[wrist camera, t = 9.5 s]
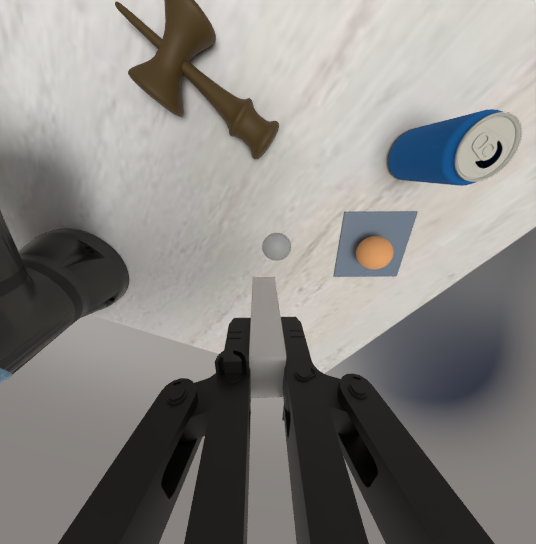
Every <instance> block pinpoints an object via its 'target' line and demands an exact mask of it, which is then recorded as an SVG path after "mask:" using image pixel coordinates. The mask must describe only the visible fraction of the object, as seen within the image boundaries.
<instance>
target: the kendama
mask: <svg viewBox="0 0 536 544" xmlns="http://www.w3.org/2000/svg"><path fill="white" fill-rule="evenodd" d="M164 1H165V19H166V23H165V31H164V36H163V39H161V38H160V37H159V36H158V35H157V34H156V33H154V32H153V31H152V30H151V29H150V28H149V27H148V26H146V25H145V24H144V23H143V22H142V21H141V20H140V19H138V18H137V17H136V16H135V15H134V14H133V13H132V12H130V11H129V10H128V9H127V8H126V7H124V6H123V5H122V4H121V3H119V2H115V6H116V7H117V9H118V10H119V11H120V12H121V13H122V14H123V15H124V16H125V17H126V18H127V19H128V20H129V21H130V22H131V23H132V24H133V25H134V26H135V27H136V28H137V29H138V30H139V31H140V32H141V33H142V34H143V35H144V36H145V37H146V38H147V39H148V40H149V41H150V42H151V43H152V44H153V45H154V46H156V47H157V48H158V51H157V52H156V55H155V56H154V57H153V58H152V59H151V60H149V61H147V62H145V63H143V64H140V65H137V66H135V67H133V68H131V69H129V71H128V74H129V76H130V77H131V78H132V80H133V81H134V82H135V83H136V84H137V85H138V86H139V87H141V88H142V89H143V90H144V91H145V92H146V93H147V94H148V95H150V96H151V97H152V98H153V99H155V100H156V101H157V102H158V103H160V104H161V105H162V106H164V107H165V108H166V109H168V110H169V111H171V112H172V113H174V114H176V115H177V116H181V117H182V115H183V105H182V96H181V81H182V78H183V75H185V76H186V77H187V78H188V79H189V80H190V81H191V82H192V83H193V84H194V85H195V87H196V88H197V89H198V90H199V91H200V92H201V93H202V94H203V95H204V96H205V97H206V98H207V100H208V101H209V102H210V103H211V104H212V105H213V106H214V108H215V109H216V110H217V111H218V112H219V114H220V115H221V116H222V117H223V119H224V120H225V121H226V123H227V125H228V127H229V133H230V135H231V136H238V137H239V138H241V139H242V140H243V141H244V142H245V143H246V144H247V145H248V146H249V148H250V149H251V152H252V157H253V158H254V159H259V158H260V157H261V156H262V155H263V154H264V153H265V151H266V150H267V149H268V147H269V146H270V144H271V143H272V141H273V139H274V138H275V136H276V134H277V132H278V128H279V123H278V122H277V121H271V122H269V121H266V120H264V119H263V118H262V117H261V116H260V115H259V114H258V113H257V112H256V111H255V109H254V107H253V103H252V100H251V99H250V98H248V99H244V100H243V99H239V98H237V97H235V96H234V95H232V94H231V93H229V92H227V91H226V90H225V89H223V88H222V87H220V86H219V85H218V84H216V83H215V82H214V81H212V80H211V79H210V78H208V77H207V76H206V75H204V74H203V73H202V72H201V71H199V70H198V69H197V68H195V67H194V66H193V65H192V64H191V63H189V62H190V61H191V59H192V58H193V57H194V56H195V55H196V54H198V53H199V52H201V51H203V50H204V49H206V48H208V47H210V46H212V45H213V44H214V43H215V41H216V35H215V32H214V29H213V27H212V25H211V23H210V21H209V20H208V18H207V16H206V15H205V13H204V12H203V11H202V9H201V8H200V7H199V5H198V4H197V3H196V2H195V1H194V0H164Z"/></svg>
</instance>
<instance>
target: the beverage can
mask: <svg viewBox="0 0 536 544" xmlns="http://www.w3.org/2000/svg"><path fill="white" fill-rule="evenodd" d="M521 137H522V126H521V123H520V120H519V119H518V118H517V117H516V116H515V115H514V114H512V113H508V112H502V111H499V110H484V111H480V112H476V113H473V114H469V115H465V116H461V117H457V118H453V119H449V120H446V121H442V122H438V123H434V124H430V125H426V126H422V127H418V128H415V129H411V130H409V131H407V132H405V133H404V134H403V135H401V136H400V137H399V138H398V139H397V141H396V142H395V143H394V145H393V147H392V149H391V151H390V154H389V159H388V165H389V169H390V172H391V174H392V175H393V176H394V177H396V178H397V179H400V180H407V181H418V182H429V183H440V184H450V185H468V184H472V183H475V182H478V181H483V180H486V179H488V178H490V177H492V176H494V175H495V174H497V173H498V172H500V171H501V170H502V169H503V168H504V167H505V166H506V165H507V164H508V163H509V162H510V161H511V159H512V158H513V156H514V155H515V153H516V151H517V149H518V147H519V145H520V142H521Z"/></svg>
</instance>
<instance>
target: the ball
mask: <svg viewBox="0 0 536 544" xmlns="http://www.w3.org/2000/svg"><path fill="white" fill-rule="evenodd" d="M393 253H394V251H393V247H392V245H391V243H390V242H389V241H388V240H387V239H385V238H383V237H380V236H371V237H368V238H366V239H364V240H363V241H362V242H361V243H360V244H359V245H358V247H357V250H356V257H357V260H358V261H359V263H360V264H361V265H362V266H364V267H365V268H368V269H380V268H383V267H385V266H386V265H387V264H389V263H390V261H391V260H392V257H393Z"/></svg>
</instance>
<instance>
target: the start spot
mask: <svg viewBox="0 0 536 544" xmlns="http://www.w3.org/2000/svg"><path fill="white" fill-rule="evenodd" d="M290 250H291V243H290V241H289V239H288V238H287V237H286V236H285V235H283V234H280V233H274V234H271V235H269V236H268V237H267V238H266V239H265V240H264V242H263V252H264V254H265V255H266V256H267V257H268V258H269V259H271V260H282V259H284V258H285V257H287V256H288V254H289V253H290Z"/></svg>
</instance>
